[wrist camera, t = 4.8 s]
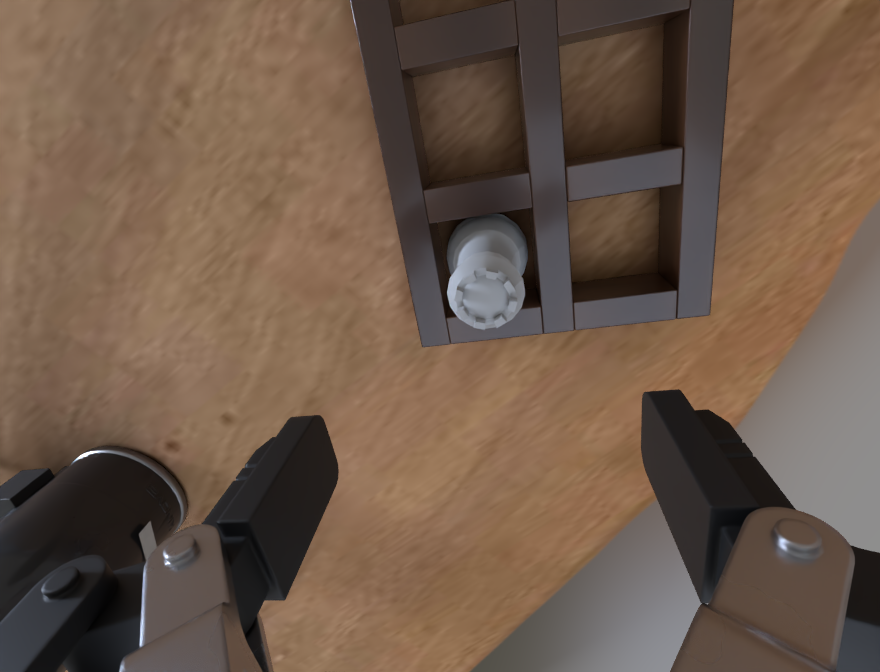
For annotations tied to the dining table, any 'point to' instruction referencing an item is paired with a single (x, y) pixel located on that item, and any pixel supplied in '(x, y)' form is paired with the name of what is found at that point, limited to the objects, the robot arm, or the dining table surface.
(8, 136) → the dining table surface
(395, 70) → the open grid frame
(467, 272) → the rook chess piece
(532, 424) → the dining table surface
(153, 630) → the robot arm
